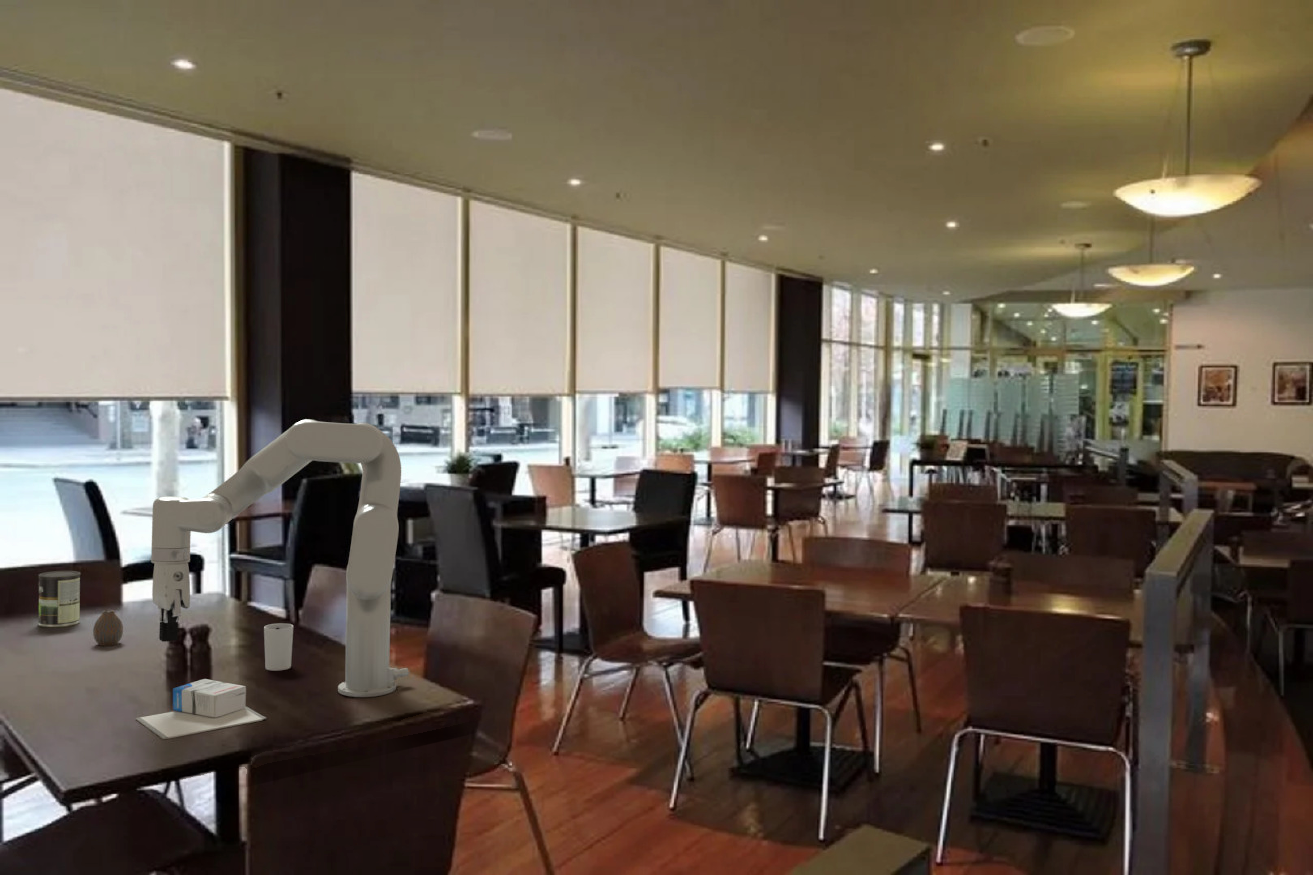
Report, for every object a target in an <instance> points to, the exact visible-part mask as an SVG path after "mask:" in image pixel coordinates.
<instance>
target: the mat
mask: <svg viewBox="0 0 1313 875" xmlns="http://www.w3.org/2000/svg"><path fill="white" fill-rule="evenodd" d="M135 720H136V721H137V722H139V724H141V725H142V726H144V727H145V728H146V729H148V730H149V731H151V732H152V733H153V734H155V735H156V736H158V737H159V738H161V739H162V740H168V739H174V738H178V737H179V738H180V737H183V736H190V735H194V734H199V733H204V732H210V731H214V730H219V729H220V730H221V729H225V728H231V727H235V726H240V725H246V724H251V723H255V722H256V723H257V722H261V721H266V720H267V717H266V716H264V715H261V714H260V713H258V712H257V711H255V710H254V709H252V708H250V707H248V706H246V705H245V708H244V709H241V710H238V711H235V712H232V713H229V714H226V715H222V716H219V717H216V718H213V717H208V716H203V715H197V714H192V713H187V712H181V711H175V710H173V711H168V712H164V713H158V714H152V715H147V716H141V717H136V718H135Z"/></svg>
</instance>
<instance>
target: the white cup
mask: <svg viewBox="0 0 1313 875" xmlns="http://www.w3.org/2000/svg"><path fill="white" fill-rule="evenodd" d="M293 635H294V625H293V624H291V623H271V624H267V625H264V627H263V637H264V659H265V662H264V664H265V665H264V666H265V670H267V671H275V672H276V671H283V670H288V669H291V667H292V655H293V638H294V636H293Z"/></svg>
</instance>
